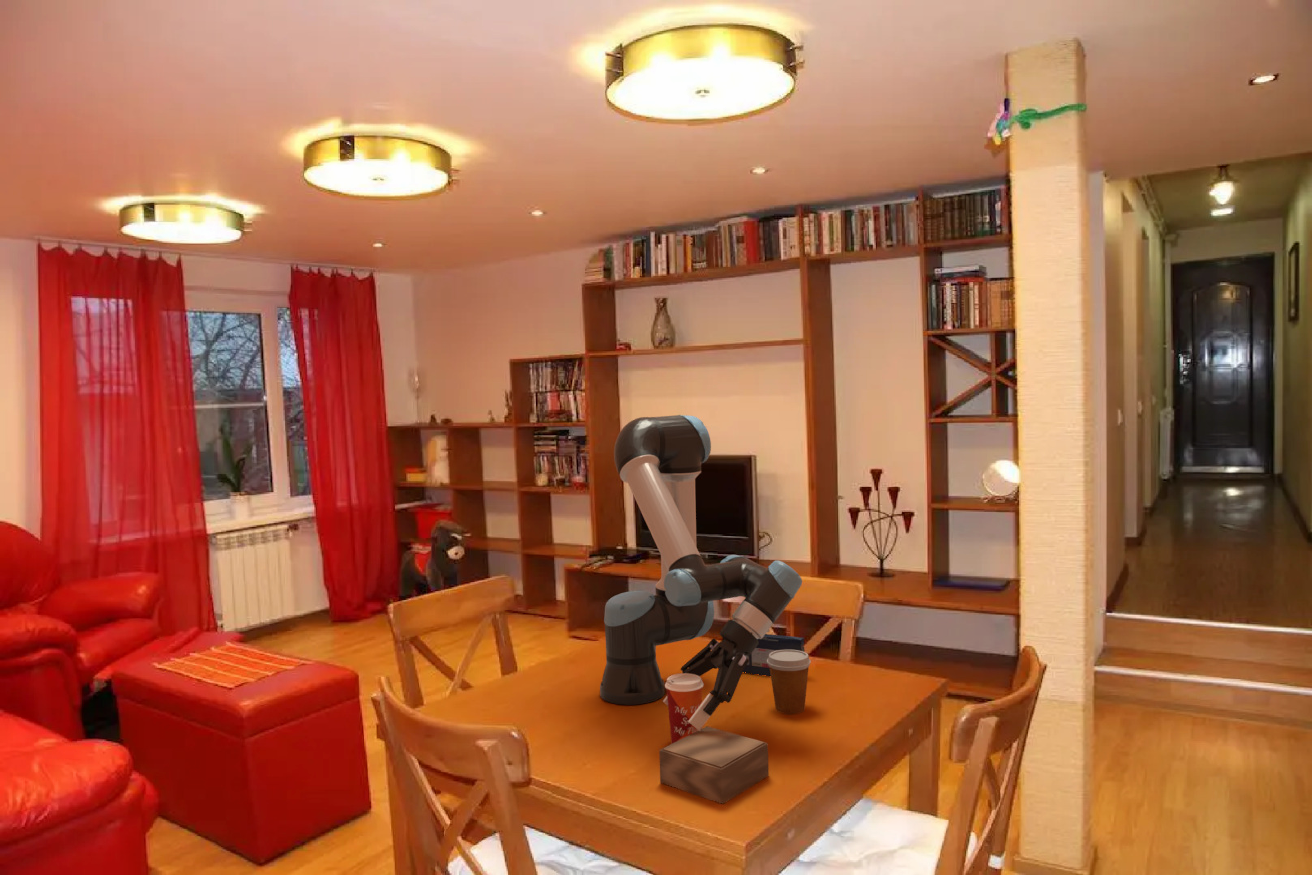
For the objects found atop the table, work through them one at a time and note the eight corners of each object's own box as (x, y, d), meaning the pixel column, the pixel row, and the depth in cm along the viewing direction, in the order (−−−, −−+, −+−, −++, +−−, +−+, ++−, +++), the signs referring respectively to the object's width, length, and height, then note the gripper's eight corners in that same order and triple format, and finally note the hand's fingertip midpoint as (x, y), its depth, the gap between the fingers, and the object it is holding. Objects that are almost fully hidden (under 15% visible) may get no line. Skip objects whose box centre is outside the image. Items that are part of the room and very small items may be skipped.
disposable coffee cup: (811, 717, 190) (809, 662, 189) (766, 715, 192) (764, 661, 191) (812, 702, 199) (811, 649, 199) (769, 700, 201) (768, 648, 200)
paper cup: (678, 759, 171) (676, 687, 170) (660, 745, 178) (657, 676, 177) (713, 750, 174) (711, 680, 174) (694, 737, 181) (691, 669, 181)
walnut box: (660, 782, 161) (659, 748, 161) (707, 756, 171) (706, 725, 171) (722, 804, 152) (721, 768, 151) (768, 775, 162) (767, 741, 162)
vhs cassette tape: (731, 672, 223) (730, 632, 222) (736, 668, 225) (735, 629, 225) (801, 681, 214) (800, 640, 213) (806, 677, 216) (804, 637, 216)
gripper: (787, 654, 168) (719, 747, 163) (731, 628, 192) (671, 708, 187) (760, 630, 166) (691, 723, 161) (707, 607, 190) (645, 687, 185)
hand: (679, 716), depth 174 cm, fingers open, 13 cm apart
